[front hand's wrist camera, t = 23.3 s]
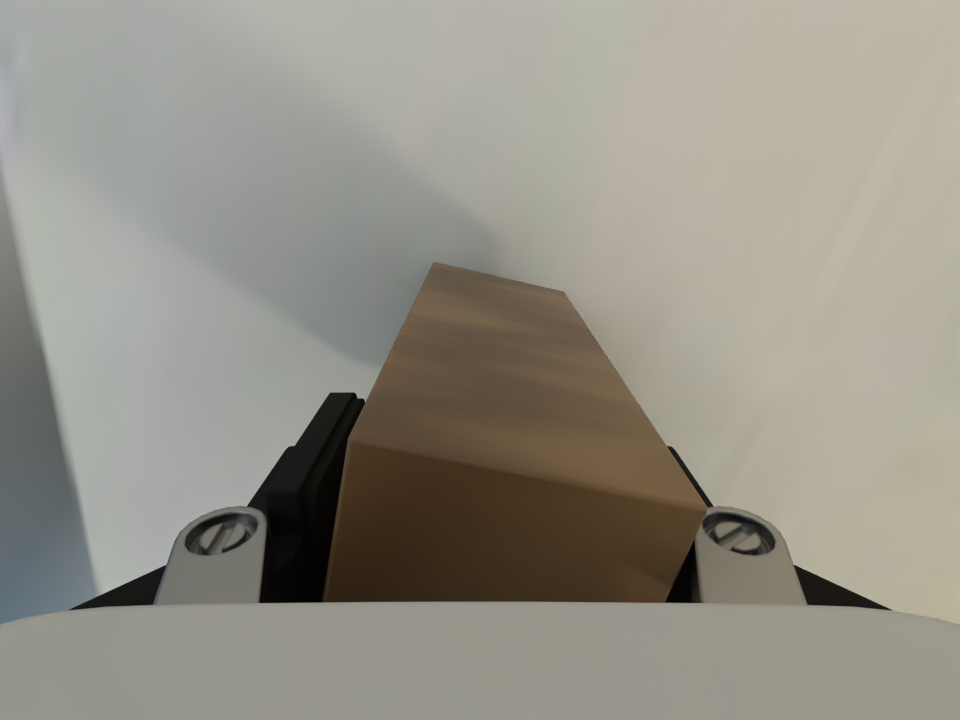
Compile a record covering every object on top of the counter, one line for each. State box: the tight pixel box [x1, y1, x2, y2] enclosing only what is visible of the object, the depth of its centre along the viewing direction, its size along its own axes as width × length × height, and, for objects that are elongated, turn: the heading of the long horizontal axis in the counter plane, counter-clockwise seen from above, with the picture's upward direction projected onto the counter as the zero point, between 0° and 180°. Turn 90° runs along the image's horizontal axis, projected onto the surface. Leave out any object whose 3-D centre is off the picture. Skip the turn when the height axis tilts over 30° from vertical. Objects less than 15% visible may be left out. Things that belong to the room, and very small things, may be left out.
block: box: [322, 262, 707, 603], centre depth 13 cm, size 4×6×12 cm
